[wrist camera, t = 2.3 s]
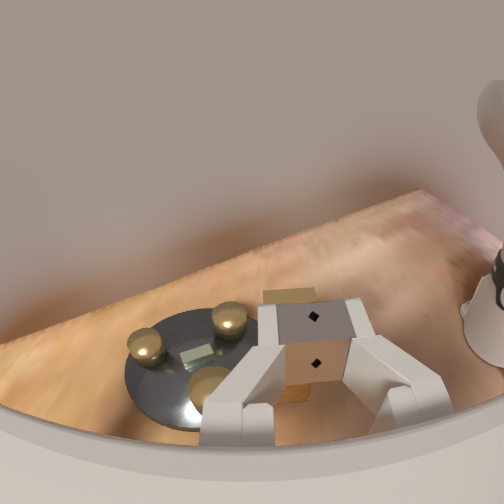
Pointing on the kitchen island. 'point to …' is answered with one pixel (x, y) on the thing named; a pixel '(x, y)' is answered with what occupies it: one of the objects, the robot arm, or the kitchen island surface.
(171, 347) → the levelling plate
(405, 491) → the robot arm
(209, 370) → the lever knob
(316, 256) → the kitchen island surface
